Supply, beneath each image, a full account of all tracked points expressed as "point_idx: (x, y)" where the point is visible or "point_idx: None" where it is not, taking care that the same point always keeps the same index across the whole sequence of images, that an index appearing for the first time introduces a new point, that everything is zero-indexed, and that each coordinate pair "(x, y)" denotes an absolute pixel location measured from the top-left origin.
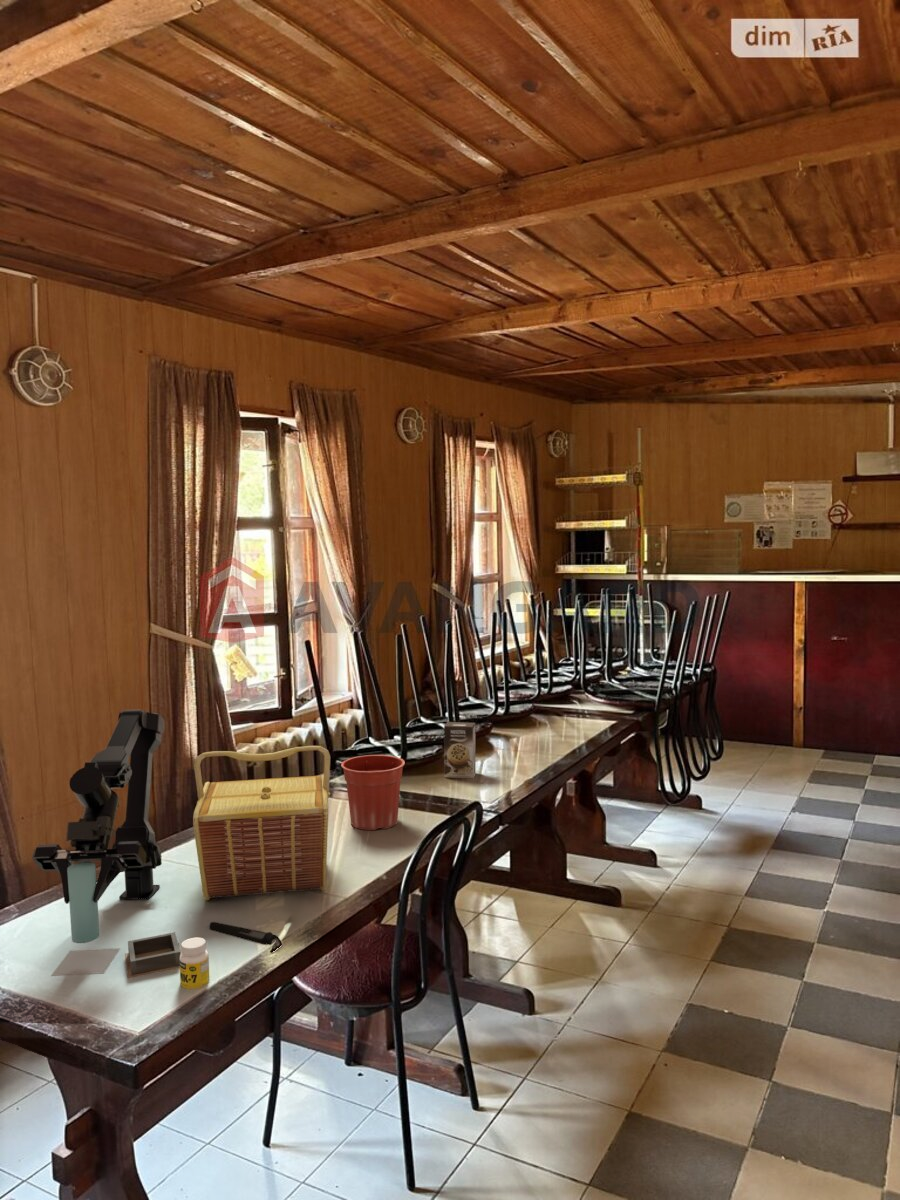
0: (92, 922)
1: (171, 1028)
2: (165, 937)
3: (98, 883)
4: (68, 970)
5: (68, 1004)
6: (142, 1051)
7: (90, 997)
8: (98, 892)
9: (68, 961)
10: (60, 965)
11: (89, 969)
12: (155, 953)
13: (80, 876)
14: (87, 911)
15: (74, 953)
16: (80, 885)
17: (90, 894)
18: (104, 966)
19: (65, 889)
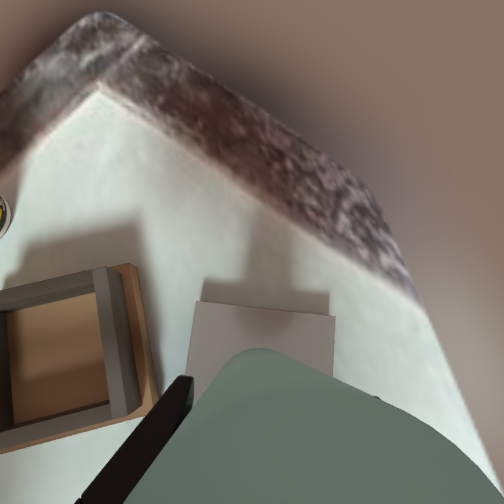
0: (220, 370)
1: (36, 89)
2: (4, 431)
3: (134, 476)
4: (296, 336)
5: (260, 214)
6: (87, 34)
7: (218, 234)
8: (150, 410)
9: None
10: (327, 371)
11: (239, 330)
12: (62, 395)
13: (274, 383)
14: (234, 362)
15: None
16: (270, 367)
17: (206, 390)
18: (201, 340)
19: None
